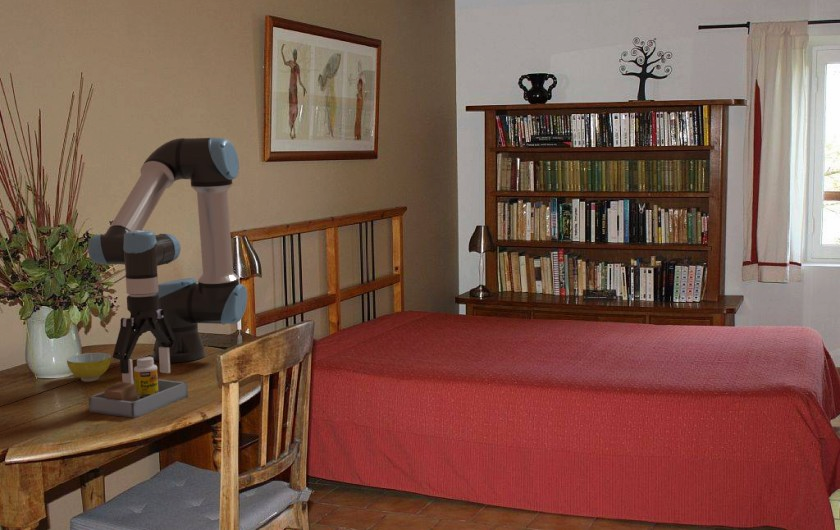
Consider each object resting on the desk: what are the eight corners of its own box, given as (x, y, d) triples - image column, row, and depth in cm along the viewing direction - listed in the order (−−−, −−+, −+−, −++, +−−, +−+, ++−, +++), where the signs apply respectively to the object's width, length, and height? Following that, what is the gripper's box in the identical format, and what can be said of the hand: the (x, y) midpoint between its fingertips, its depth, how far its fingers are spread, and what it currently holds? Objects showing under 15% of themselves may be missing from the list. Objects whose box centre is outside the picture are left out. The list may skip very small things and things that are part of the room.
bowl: (121, 376, 252) (120, 354, 251) (91, 386, 241) (89, 363, 241) (89, 372, 256) (88, 351, 256) (58, 382, 246) (57, 360, 245)
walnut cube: (122, 401, 222) (118, 382, 221) (138, 403, 220) (135, 384, 219) (107, 409, 218) (104, 390, 216) (124, 412, 216) (120, 392, 214)
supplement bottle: (139, 403, 223) (137, 362, 222) (132, 398, 228) (130, 357, 226) (162, 399, 226) (159, 358, 225) (154, 394, 231) (152, 354, 229)
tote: (144, 391, 236) (144, 377, 236) (187, 396, 231) (187, 382, 230) (89, 411, 218) (88, 397, 218) (134, 418, 213) (133, 403, 212)
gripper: (163, 285, 236) (167, 366, 239) (93, 301, 214) (99, 390, 217) (187, 287, 233) (191, 368, 236) (118, 303, 211) (124, 393, 214)
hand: (147, 379), depth 227 cm, fingers open, 13 cm apart
